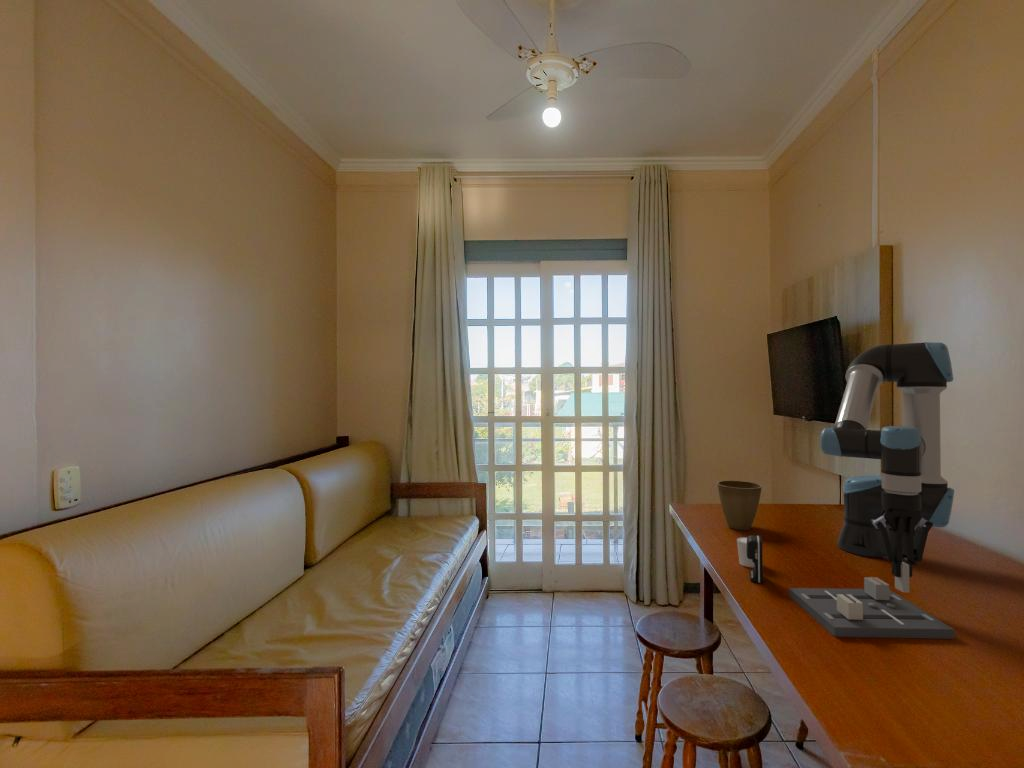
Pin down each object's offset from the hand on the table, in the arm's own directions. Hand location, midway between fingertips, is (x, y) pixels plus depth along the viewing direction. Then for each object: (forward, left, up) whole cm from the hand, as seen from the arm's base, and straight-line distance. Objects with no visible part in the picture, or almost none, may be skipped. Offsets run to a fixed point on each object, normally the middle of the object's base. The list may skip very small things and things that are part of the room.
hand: (902, 589), depth 119 cm
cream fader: (+18, +10, -2) cm, 20 cm away
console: (+12, +5, -4) cm, 13 cm away
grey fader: (+6, 0, -2) cm, 6 cm away
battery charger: (+28, -16, -4) cm, 32 cm away
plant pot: (+14, -64, -4) cm, 66 cm away
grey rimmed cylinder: (+25, -27, -4) cm, 37 cm away
